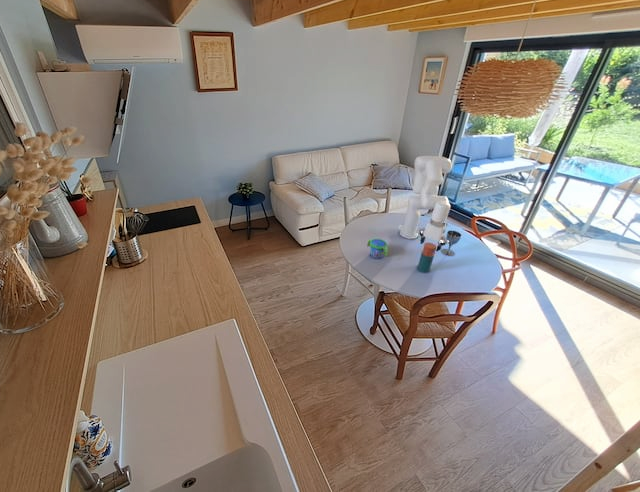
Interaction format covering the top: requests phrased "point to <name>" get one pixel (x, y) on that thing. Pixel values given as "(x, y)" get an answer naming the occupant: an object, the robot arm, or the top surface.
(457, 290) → the top surface
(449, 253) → the wine glass
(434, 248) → the cup
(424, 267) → the bottle
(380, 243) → the snack cup
